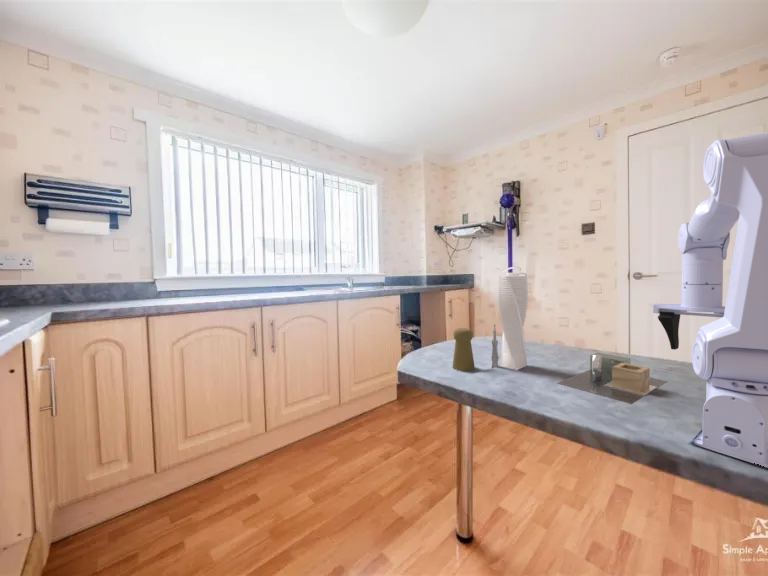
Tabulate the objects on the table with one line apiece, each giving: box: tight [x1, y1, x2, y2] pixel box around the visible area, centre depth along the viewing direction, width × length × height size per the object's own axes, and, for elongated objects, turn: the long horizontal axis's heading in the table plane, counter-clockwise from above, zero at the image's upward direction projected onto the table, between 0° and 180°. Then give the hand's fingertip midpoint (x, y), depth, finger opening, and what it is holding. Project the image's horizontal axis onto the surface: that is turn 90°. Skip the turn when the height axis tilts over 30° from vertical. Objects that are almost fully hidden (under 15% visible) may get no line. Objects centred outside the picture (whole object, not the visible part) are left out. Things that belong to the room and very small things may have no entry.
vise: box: [556, 352, 668, 405], centre depth 71 cm, size 21×14×6 cm, turn 123°
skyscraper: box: [490, 266, 529, 371], centre depth 84 cm, size 8×8×28 cm
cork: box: [452, 327, 476, 372], centre depth 87 cm, size 6×6×11 cm
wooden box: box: [612, 363, 651, 392], centre depth 68 cm, size 5×5×4 cm
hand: (700, 352), depth 63 cm, fingers open, 7 cm apart
